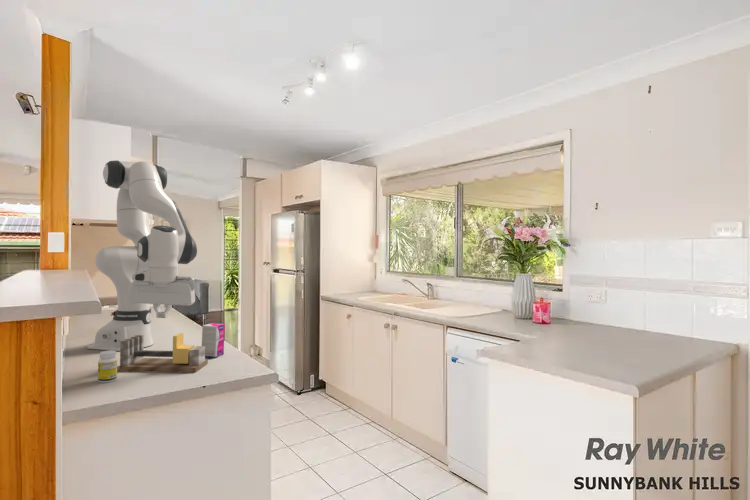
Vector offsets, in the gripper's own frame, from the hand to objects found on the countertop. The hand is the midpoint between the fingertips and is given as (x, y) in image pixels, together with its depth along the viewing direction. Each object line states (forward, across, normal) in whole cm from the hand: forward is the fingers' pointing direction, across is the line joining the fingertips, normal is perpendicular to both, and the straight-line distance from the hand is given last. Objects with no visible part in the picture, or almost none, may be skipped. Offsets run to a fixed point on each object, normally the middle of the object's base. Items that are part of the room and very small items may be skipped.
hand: (162, 317), depth 138 cm
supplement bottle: (+16, +8, +15) cm, 24 cm away
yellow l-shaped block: (+14, -8, +1) cm, 16 cm away
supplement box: (+16, -12, -14) cm, 25 cm away
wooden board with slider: (+16, -2, +1) cm, 16 cm away
